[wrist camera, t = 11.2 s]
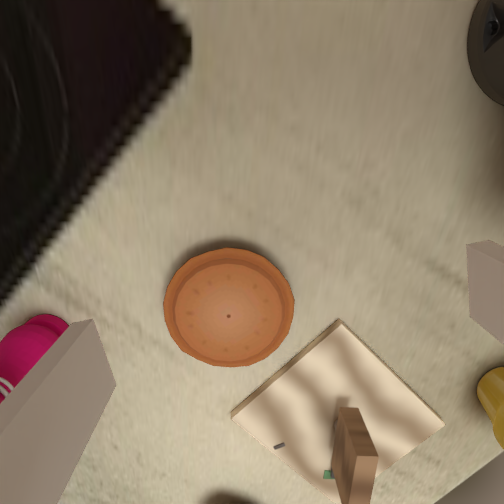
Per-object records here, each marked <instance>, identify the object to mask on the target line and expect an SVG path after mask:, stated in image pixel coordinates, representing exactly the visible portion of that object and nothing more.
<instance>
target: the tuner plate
mask: <svg viewBox="0 0 504 504" xmlns="http://www.w3.org/2000/svg"><path fill="white" fill-rule="evenodd" d="M340 407H354V408H359V411H360V413H361V415H362V418H363V420H364V422H365V425H366V427H367V430H368V432H369V434H370V437H371V439H372V441H373V444H374V446H375V448H376V451H377V453H378V456H379V459H378V464H377V469H376V474H375V477H376V476H378V475H379V474H380V473H382V472H383V471H384V470H386V469H387V468H388V467H390V466H391V465H392V464H394V463H395V462H396V461H398V460H399V459H400V458H402V457H403V456H404V455H406V454H407V453H408V452H410V451H411V450H413V449H414V448H415V447H417V446H418V445H419V444H421V443H422V442H423V441H425V440H426V439H427V438H429V437H430V436H431V435H433V434H434V433H435V432H437V431H438V430H439V429H441V428H442V427H443V426H445V425H446V424H445V423H444V422H443V420H442V419H441V417H440V416H439V415H438V414H437V413H436V412H435V411H434V410H433V409H431V408H430V407H429V406H428V405H427V404H426V403H425V402H424V401H423V400H422V399H421V398H420V397H419V396H418V395H417V394H416V393H415V392H414V391H413V390H412V389H411V388H410V387H409V386H408V385H407V384H406V383H405V382H404V381H403V380H402V379H401V378H400V377H399V376H398V375H396V374H395V373H394V372H393V371H392V370H391V369H390V368H389V367H388V366H387V365H386V364H385V363H384V362H383V361H382V360H381V359H380V358H379V357H378V356H377V355H376V354H375V353H374V352H373V351H372V350H371V349H370V348H369V347H368V346H367V345H366V344H365V343H364V342H363V341H362V340H360V339H359V338H358V337H357V336H356V335H355V334H354V333H353V332H352V331H351V330H350V329H349V328H348V327H347V326H346V325H345V324H344V323H343V322H342V321H341V320H340V319H338V320H337V321H336V322H334V323H333V324H332V325H331V326H330V327H329V328H328V329H326V330H325V331H324V332H323V333H322V334H321V335H319V336H318V337H317V338H316V339H315V340H314V341H312V342H311V343H310V344H309V345H308V346H307V347H306V348H304V349H303V350H302V351H301V352H300V353H299V354H297V355H296V356H295V357H294V358H293V359H292V360H290V361H289V362H288V363H287V364H286V365H285V366H284V367H282V368H281V369H280V370H279V371H278V372H277V373H275V374H274V375H273V376H272V377H271V378H270V379H269V380H267V381H266V382H265V383H264V384H263V385H262V386H260V387H259V388H258V389H257V390H256V391H255V392H253V393H252V394H251V395H250V396H249V397H248V398H247V399H245V400H244V401H243V402H242V403H241V404H240V405H238V406H237V407H236V408H235V409H234V410H233V411H231V420H232V421H234V422H235V423H236V424H237V425H239V426H240V427H241V428H242V429H244V430H245V431H246V432H247V433H248V434H250V435H251V436H252V437H253V438H255V439H256V440H257V441H258V442H260V443H261V444H262V445H263V446H264V447H266V448H267V449H268V450H269V451H271V452H272V453H273V454H274V455H276V456H277V457H278V458H279V459H280V460H282V461H283V462H284V463H285V464H287V465H288V466H289V467H290V468H292V469H293V470H294V471H295V472H297V473H298V474H299V475H300V476H301V477H303V478H304V479H305V480H306V481H308V482H309V483H310V484H311V485H313V486H314V487H315V488H316V489H317V490H319V491H320V492H321V493H322V494H324V495H325V496H326V497H327V498H329V499H330V500H331V501H332V502H333V503H335V504H340V503H341V499H340V496H339V492H338V488H337V485H336V481H335V478H331V476H330V474H331V468H332V466H331V460H332V453H333V447H334V440H335V434H336V429H335V426H334V422H335V421H336V420H337V419H338V415H339V408H340Z"/></svg>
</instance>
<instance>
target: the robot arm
mask: <svg viewBox="0 0 504 504" xmlns="http://www.w3.org/2000/svg"><path fill="white" fill-rule="evenodd" d="M468 57H469V63H470V67H471V70H472V73H473V75H474V78H475V80H476V81H477V83H478V85H479V86H480V88H481V89H482V90H483V91H484V92H485V93H486V94H487V95H488V96H489V97H490V98H491V99H493V100H494V101H496V102H497V103H499V104H501V105H504V0H480V1H479V3H478V5H477V7H476V9H475V12H474V14H473V17H472V21H471V24H470V29H469V35H468ZM466 249H467V269H468V289H469V309H470V317H471V318H472V319H473V320H474V321H476V322H477V323H478V324H479V325H480V326H482V327H483V328H484V329H485V330H487V331H488V332H489V333H490V334H491V335H493V336H494V337H495V338H496V339H497V340H499V341H500V342H501V343H502V344H504V246H501V245H499V244H497V243H495V242H492V241H490V240H486V241H481V242H476V243H471V244H466ZM115 387H116V382H115V379H114V376H113V374H112V371H111V368H110V365H109V362H108V359H107V357H106V354H105V351H104V348H103V345H102V343H101V340H100V337H99V334H98V331H97V329H96V326H95V323H94V320H93V319H90V320H85V321H80V322H75V323H72V324H71V325H70V326H69V327H68V328H67V329H66V330H65V332H64V333H63V334H62V335H61V336H60V337H59V338H58V339H57V341H56V342H55V343H54V344H53V345H52V346H51V347H50V348H49V350H48V351H47V352H46V353H45V354H44V355H43V356H42V357H41V359H40V360H39V361H38V362H37V363H36V364H35V365H34V366H33V368H32V369H31V370H30V371H29V372H28V373H27V374H26V375H25V377H24V378H23V379H22V380H21V381H20V382H19V383H18V384H17V386H16V387H15V388H14V389H13V390H12V391H11V392H10V393H9V395H8V396H7V397H6V398H5V399H4V400H3V401H2V402H1V404H0V504H57V503H58V501H59V499H60V497H61V495H62V493H63V491H64V489H65V487H66V485H67V483H68V481H69V479H70V477H71V475H72V473H73V471H74V469H75V467H76V465H77V463H78V461H79V459H80V457H81V455H82V453H83V451H84V449H85V447H86V445H87V443H88V441H89V439H90V437H91V435H92V433H93V431H94V429H95V427H96V425H97V423H98V421H99V419H100V417H101V415H102V413H103V411H104V409H105V407H106V405H107V403H108V401H109V399H110V397H111V395H112V393H113V391H114V389H115Z"/></svg>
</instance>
